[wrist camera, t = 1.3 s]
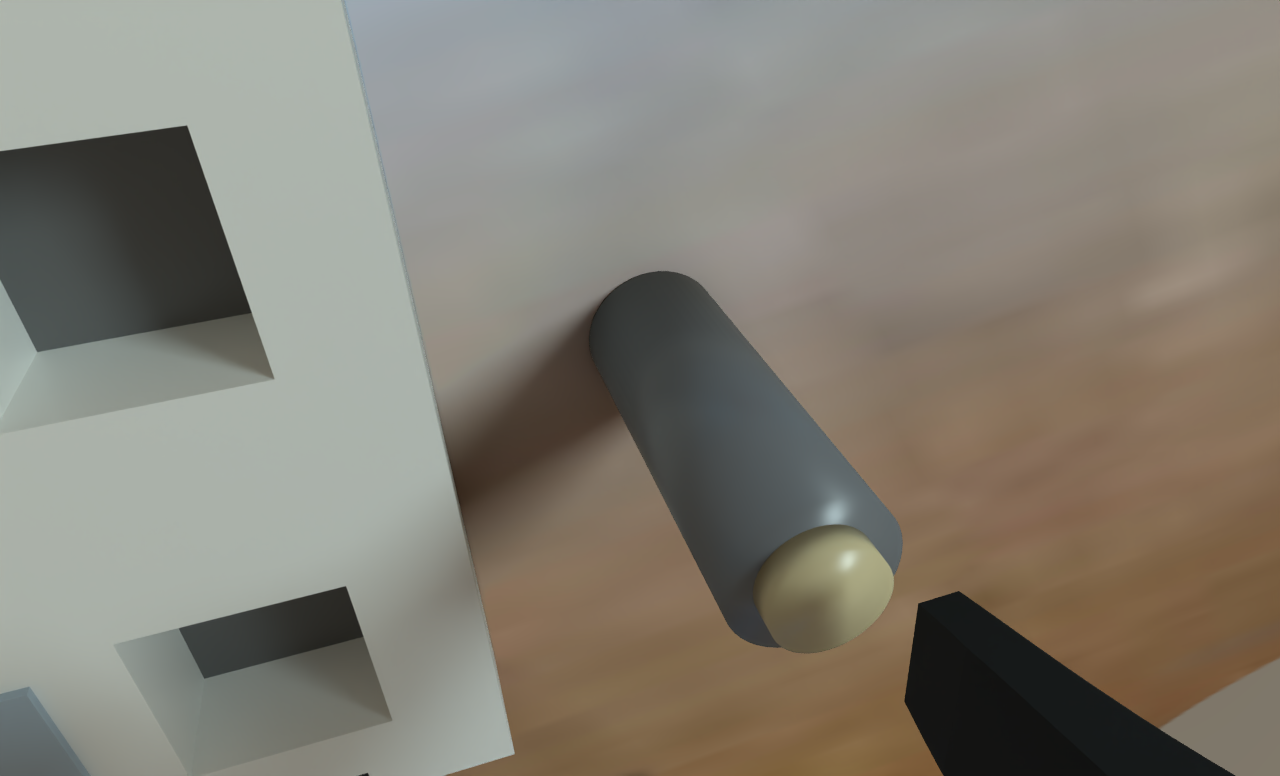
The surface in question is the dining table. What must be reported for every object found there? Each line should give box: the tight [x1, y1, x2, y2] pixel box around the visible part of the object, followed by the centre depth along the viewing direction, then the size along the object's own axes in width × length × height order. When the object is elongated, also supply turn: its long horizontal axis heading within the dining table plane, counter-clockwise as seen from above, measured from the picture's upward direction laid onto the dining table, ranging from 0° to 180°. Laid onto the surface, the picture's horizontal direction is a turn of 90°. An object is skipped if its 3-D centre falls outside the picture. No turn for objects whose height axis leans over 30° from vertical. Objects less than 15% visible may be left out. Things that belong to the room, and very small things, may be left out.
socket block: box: [0, 0, 515, 776], centre depth 16 cm, size 18×12×3 cm, turn 4°
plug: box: [589, 271, 903, 653], centre depth 16 cm, size 3×3×9 cm
